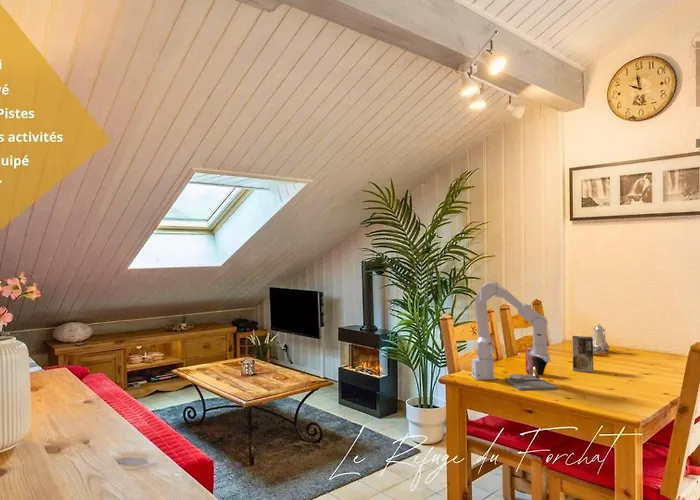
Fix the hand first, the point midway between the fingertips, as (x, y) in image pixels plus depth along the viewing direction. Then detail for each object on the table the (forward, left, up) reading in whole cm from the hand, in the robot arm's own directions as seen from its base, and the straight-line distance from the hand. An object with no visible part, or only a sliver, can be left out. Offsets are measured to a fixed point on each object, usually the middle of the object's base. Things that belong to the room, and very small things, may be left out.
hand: (540, 374), depth 210 cm
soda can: (+5, +17, -4) cm, 18 cm away
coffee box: (+32, +22, -4) cm, 39 cm away
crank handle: (-5, +3, -2) cm, 6 cm away
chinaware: (+62, +64, -4) cm, 90 cm away
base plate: (-5, -1, -4) cm, 6 cm away
